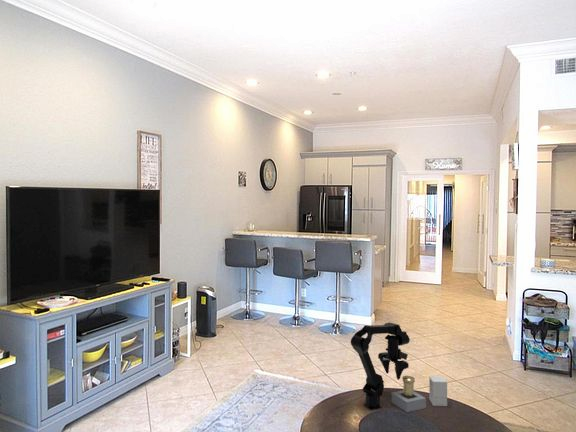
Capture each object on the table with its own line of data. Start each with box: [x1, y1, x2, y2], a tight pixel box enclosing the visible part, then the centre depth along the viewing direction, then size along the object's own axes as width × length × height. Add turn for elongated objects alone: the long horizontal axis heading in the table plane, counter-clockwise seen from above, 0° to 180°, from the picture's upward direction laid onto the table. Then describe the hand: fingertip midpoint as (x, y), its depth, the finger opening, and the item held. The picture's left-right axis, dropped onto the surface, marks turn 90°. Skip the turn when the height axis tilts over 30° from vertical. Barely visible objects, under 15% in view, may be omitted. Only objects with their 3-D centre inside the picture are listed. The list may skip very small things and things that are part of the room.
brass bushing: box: [402, 375, 416, 399], centre depth 210 cm, size 6×6×13 cm
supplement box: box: [428, 375, 448, 407], centre depth 212 cm, size 7×7×13 cm
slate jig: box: [391, 390, 427, 413], centre depth 210 cm, size 12×12×5 cm
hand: (392, 376), depth 217 cm, fingers open, 9 cm apart
